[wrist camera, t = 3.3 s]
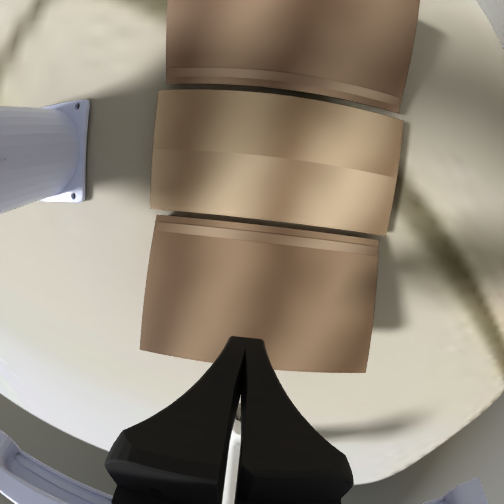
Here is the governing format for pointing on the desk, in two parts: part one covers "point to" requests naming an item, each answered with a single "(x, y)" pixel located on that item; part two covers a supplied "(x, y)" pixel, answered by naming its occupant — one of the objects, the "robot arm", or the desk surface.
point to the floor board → (274, 159)
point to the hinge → (495, 16)
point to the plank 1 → (295, 46)
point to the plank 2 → (260, 293)
